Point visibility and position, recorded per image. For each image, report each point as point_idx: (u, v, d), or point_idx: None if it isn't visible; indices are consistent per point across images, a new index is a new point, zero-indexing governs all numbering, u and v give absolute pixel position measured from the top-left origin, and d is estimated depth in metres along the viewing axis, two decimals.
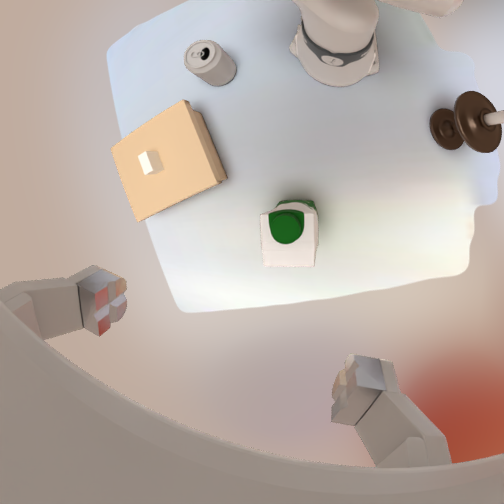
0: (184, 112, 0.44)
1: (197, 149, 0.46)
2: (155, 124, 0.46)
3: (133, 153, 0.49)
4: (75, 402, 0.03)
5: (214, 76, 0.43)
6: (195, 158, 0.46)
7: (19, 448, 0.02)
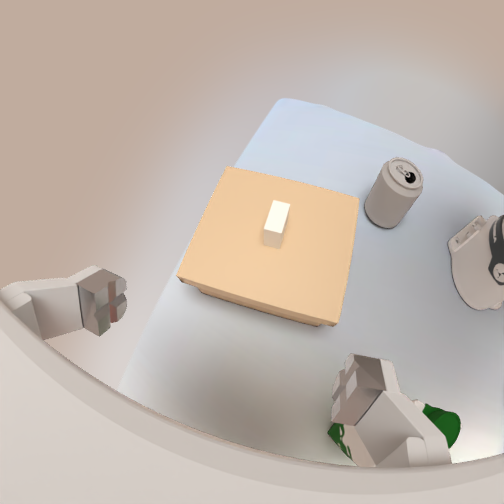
0: (352, 212, 0.35)
1: (342, 263, 0.32)
2: (309, 193, 0.36)
3: (252, 196, 0.36)
4: (75, 402, 0.03)
5: (393, 208, 0.38)
6: (332, 271, 0.31)
7: (20, 449, 0.02)
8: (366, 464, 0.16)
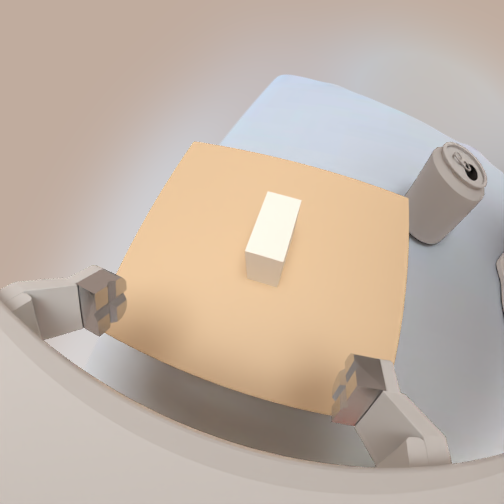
0: (401, 220, 0.19)
1: (389, 314, 0.16)
2: (329, 186, 0.21)
3: (231, 188, 0.20)
4: (75, 402, 0.03)
5: (446, 216, 0.23)
6: (373, 330, 0.16)
7: (20, 448, 0.02)
8: None
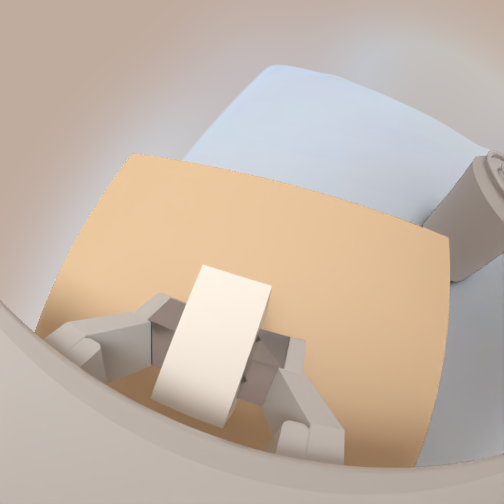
0: (440, 276, 0.11)
1: (409, 433, 0.08)
2: (332, 223, 0.13)
3: (171, 230, 0.13)
4: (75, 402, 0.03)
5: (485, 252, 0.15)
6: (382, 459, 0.08)
7: (19, 448, 0.02)
8: None
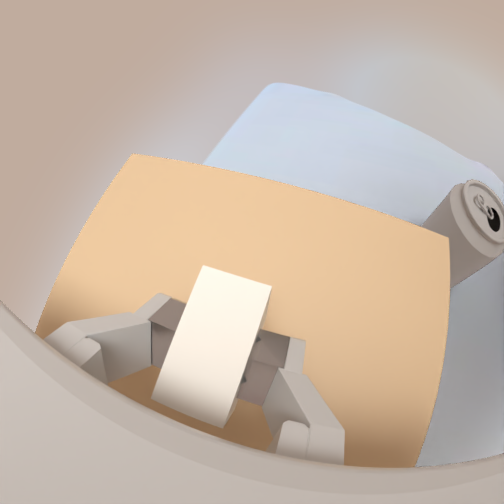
0: (440, 276, 0.11)
1: (409, 433, 0.08)
2: (332, 223, 0.13)
3: (172, 230, 0.13)
4: (75, 402, 0.03)
5: (459, 271, 0.19)
6: (382, 459, 0.08)
7: (20, 449, 0.02)
8: None
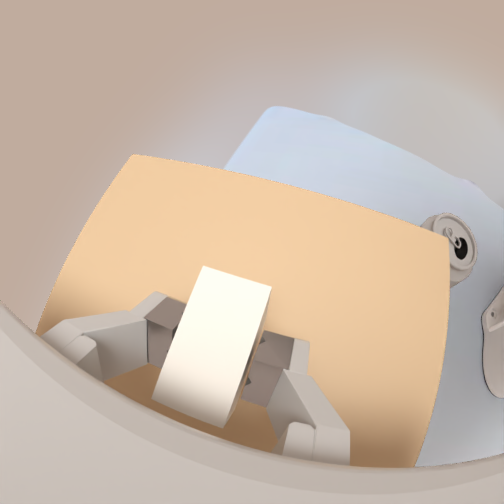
0: (440, 277, 0.11)
1: (409, 433, 0.08)
2: (332, 223, 0.13)
3: (172, 231, 0.13)
4: (75, 402, 0.03)
5: None
6: (381, 459, 0.08)
7: (19, 448, 0.02)
8: None
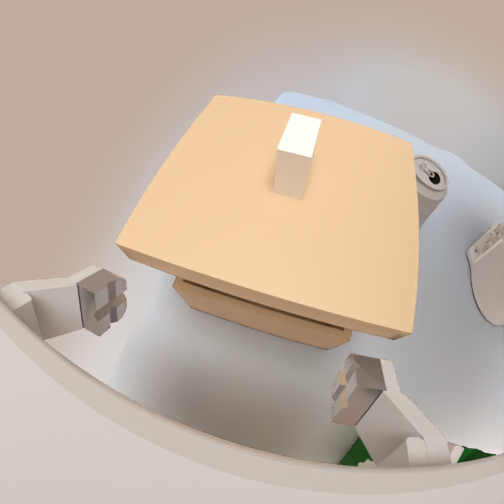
0: (407, 158, 0.20)
1: (407, 229, 0.17)
2: (341, 128, 0.21)
3: (254, 126, 0.21)
4: (75, 402, 0.03)
5: None
6: (394, 241, 0.16)
7: (19, 448, 0.02)
8: None
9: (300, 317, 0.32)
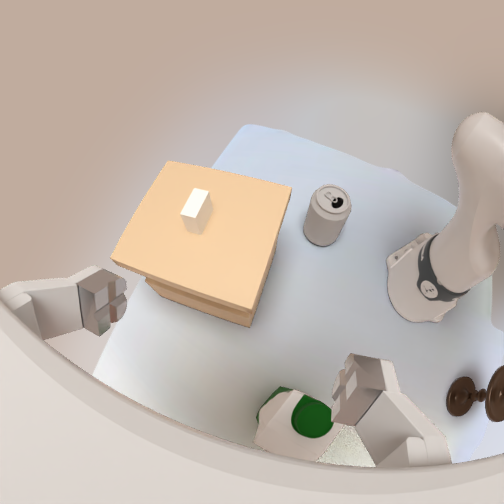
0: (282, 200, 0.36)
1: (262, 250, 0.33)
2: (239, 183, 0.37)
3: (185, 187, 0.37)
4: (75, 402, 0.03)
5: (322, 229, 0.48)
6: (250, 257, 0.32)
7: (19, 448, 0.02)
8: (255, 435, 0.25)
9: None
